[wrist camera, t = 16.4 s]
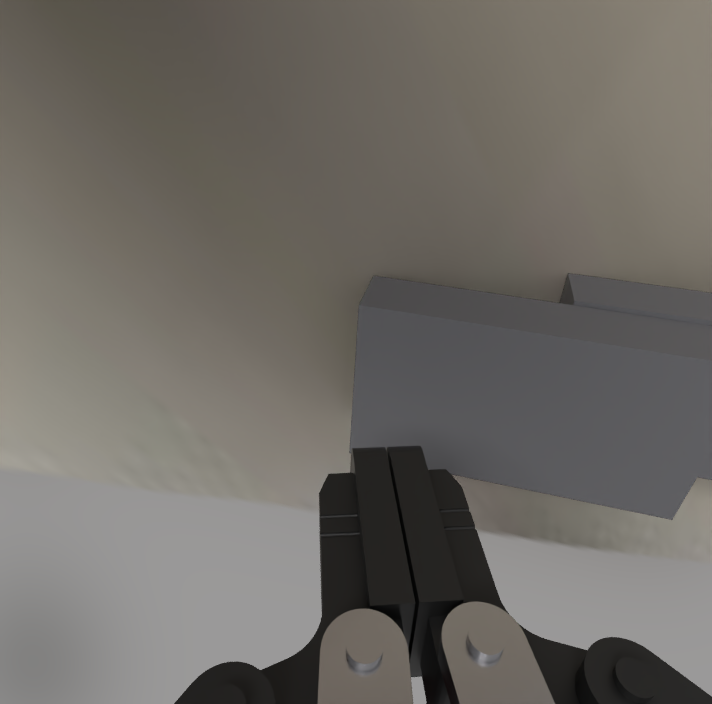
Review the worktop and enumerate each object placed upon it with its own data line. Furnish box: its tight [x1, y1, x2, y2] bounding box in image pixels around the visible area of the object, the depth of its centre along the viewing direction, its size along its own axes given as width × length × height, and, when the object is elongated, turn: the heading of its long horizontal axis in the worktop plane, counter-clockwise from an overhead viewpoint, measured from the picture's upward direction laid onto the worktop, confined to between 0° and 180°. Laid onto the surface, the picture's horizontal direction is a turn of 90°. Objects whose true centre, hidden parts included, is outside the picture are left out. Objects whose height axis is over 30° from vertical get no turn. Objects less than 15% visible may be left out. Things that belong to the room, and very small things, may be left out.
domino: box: [350, 276, 712, 520], centre depth 14 cm, size 2×5×9 cm
